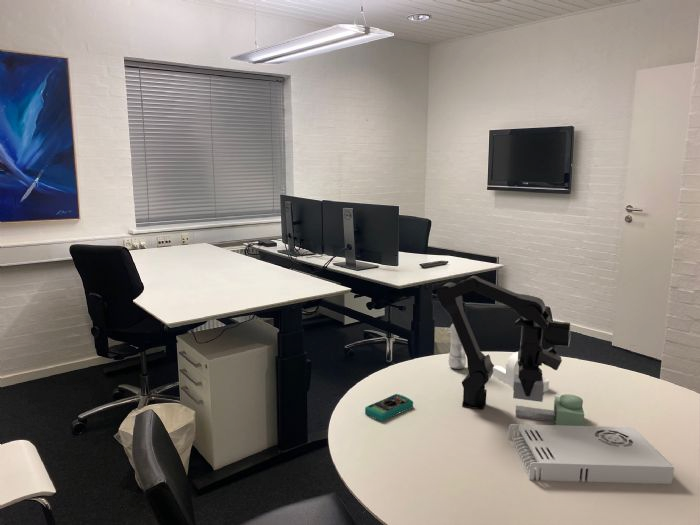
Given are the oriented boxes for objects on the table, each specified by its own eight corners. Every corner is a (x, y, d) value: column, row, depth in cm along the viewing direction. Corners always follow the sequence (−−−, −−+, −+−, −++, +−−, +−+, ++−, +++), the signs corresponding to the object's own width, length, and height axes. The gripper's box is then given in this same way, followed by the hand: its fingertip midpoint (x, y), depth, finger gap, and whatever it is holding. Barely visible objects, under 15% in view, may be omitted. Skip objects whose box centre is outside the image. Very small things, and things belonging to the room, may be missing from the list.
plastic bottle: (448, 370, 187) (450, 317, 183) (447, 363, 193) (449, 312, 190) (466, 371, 186) (468, 318, 182) (465, 365, 192) (467, 313, 189)
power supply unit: (508, 441, 139) (509, 423, 138) (631, 444, 138) (633, 427, 137) (529, 482, 121) (530, 462, 120) (672, 486, 119) (674, 467, 119)
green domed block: (515, 421, 149) (517, 398, 148) (515, 406, 158) (516, 385, 157) (582, 431, 144) (585, 407, 142) (578, 415, 153) (580, 393, 152)
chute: (513, 398, 150) (514, 382, 149) (513, 389, 156) (514, 373, 155) (542, 402, 147) (543, 385, 147) (541, 393, 153) (542, 377, 153)
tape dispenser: (511, 371, 187) (513, 343, 185) (549, 390, 171) (552, 360, 169) (490, 376, 183) (492, 347, 181) (528, 395, 167) (530, 364, 165)
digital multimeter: (414, 408, 158) (415, 399, 158) (381, 423, 148) (382, 414, 147) (396, 400, 163) (397, 391, 163) (363, 415, 153) (363, 405, 153)
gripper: (564, 355, 138) (559, 409, 140) (558, 334, 155) (554, 383, 158) (520, 350, 141) (516, 403, 144) (519, 330, 158) (516, 378, 161)
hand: (527, 391), depth 151 cm, fingers closed on chute, 6 cm apart
